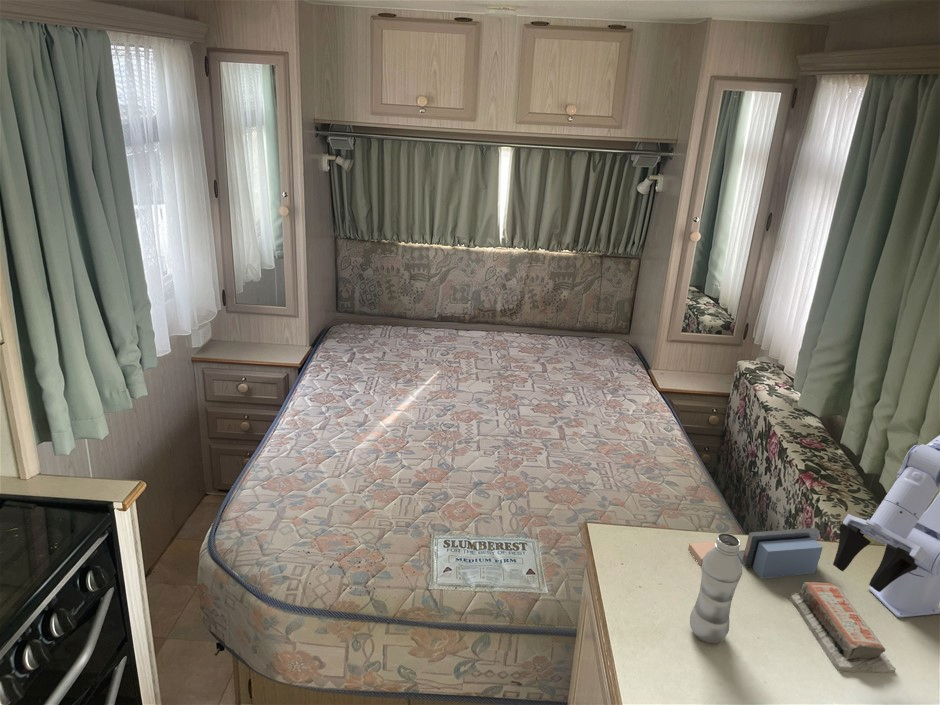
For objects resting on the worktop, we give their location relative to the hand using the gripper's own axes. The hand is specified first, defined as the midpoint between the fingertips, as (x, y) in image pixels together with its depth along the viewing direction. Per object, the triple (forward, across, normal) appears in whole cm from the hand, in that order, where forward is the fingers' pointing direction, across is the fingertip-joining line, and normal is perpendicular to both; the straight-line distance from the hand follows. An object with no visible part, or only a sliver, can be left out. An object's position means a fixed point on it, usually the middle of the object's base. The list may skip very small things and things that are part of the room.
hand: (855, 578), depth 114 cm
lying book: (+11, -29, -1) cm, 31 cm away
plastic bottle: (+23, -10, -9) cm, 26 cm away
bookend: (+4, -26, +9) cm, 28 cm away
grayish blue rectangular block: (+5, -22, +10) cm, 25 cm away
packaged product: (+9, -6, +11) cm, 16 cm away
